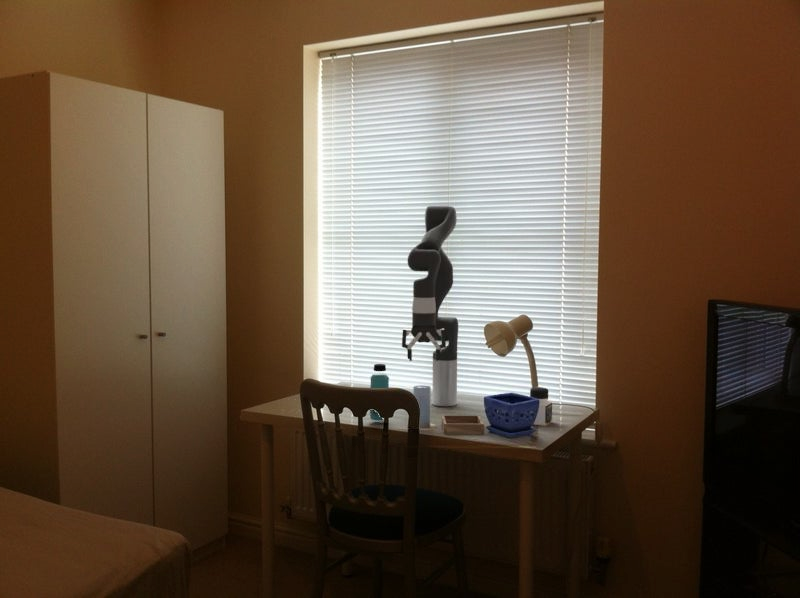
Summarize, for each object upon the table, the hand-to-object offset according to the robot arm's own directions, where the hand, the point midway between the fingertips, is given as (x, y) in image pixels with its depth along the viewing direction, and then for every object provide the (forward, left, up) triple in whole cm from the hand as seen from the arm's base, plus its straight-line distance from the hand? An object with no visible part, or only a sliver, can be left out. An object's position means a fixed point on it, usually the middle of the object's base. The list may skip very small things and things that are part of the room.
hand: (423, 360), depth 237 cm
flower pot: (+8, +28, -23) cm, 37 cm away
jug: (+1, -1, -22) cm, 22 cm away
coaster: (+1, -1, -22) cm, 22 cm away
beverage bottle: (-6, -15, -22) cm, 28 cm away
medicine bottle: (-7, +39, -23) cm, 46 cm away
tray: (+4, +12, -22) cm, 26 cm away
